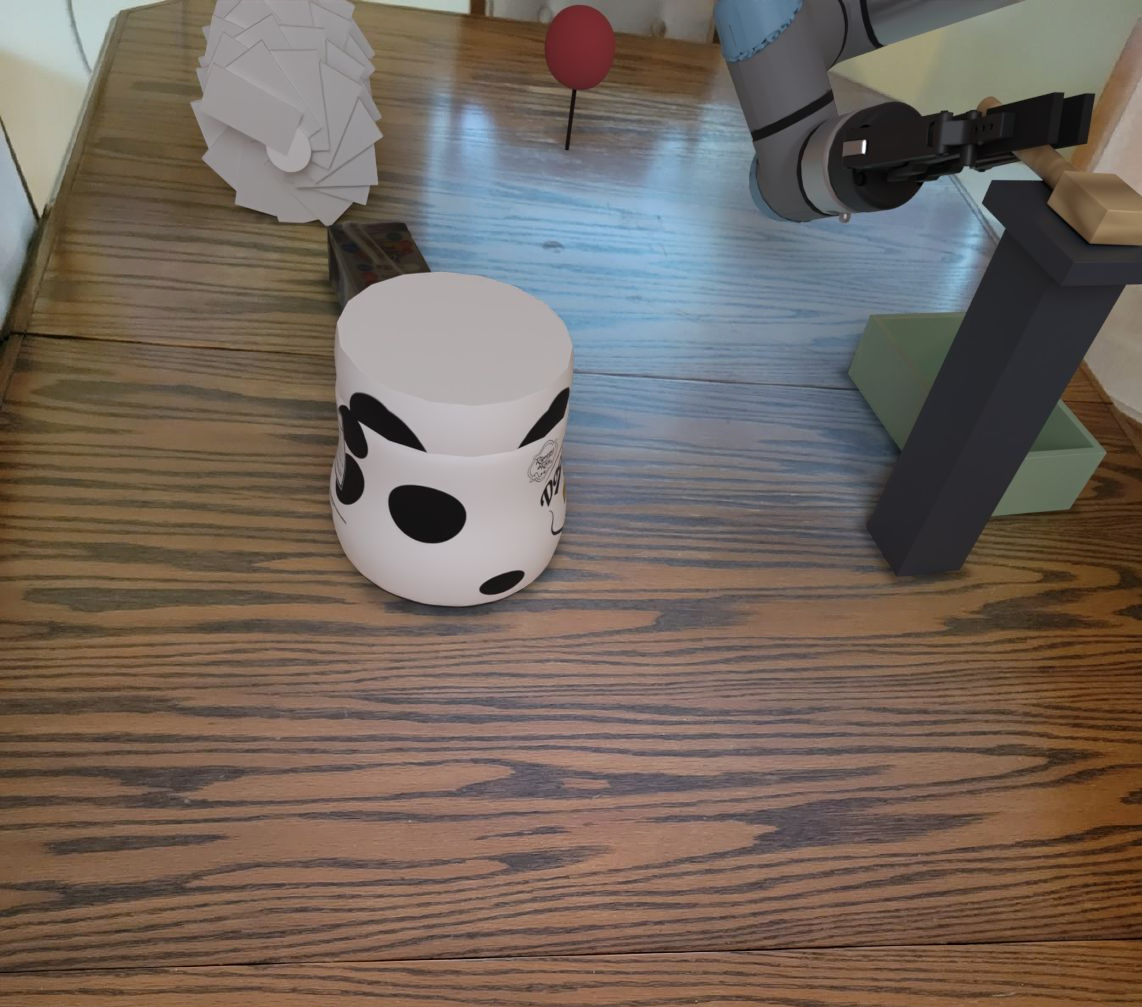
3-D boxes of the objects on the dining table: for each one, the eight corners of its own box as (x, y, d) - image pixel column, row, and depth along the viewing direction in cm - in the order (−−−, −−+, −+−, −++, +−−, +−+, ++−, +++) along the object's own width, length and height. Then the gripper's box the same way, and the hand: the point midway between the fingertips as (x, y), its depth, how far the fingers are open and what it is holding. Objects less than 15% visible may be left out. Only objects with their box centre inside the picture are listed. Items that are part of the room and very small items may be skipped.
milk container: (603, 562, 81) (645, 356, 67) (435, 665, 72) (443, 454, 58) (457, 449, 87) (467, 237, 73) (286, 532, 78) (259, 311, 64)
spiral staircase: (335, 174, 120) (344, 278, 105) (181, 91, 111) (166, 192, 96) (401, 12, 109) (422, 102, 94) (236, -94, 100) (229, -13, 85)
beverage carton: (407, 278, 102) (408, 211, 96) (464, 394, 92) (468, 326, 86) (327, 284, 99) (323, 215, 94) (376, 403, 89) (375, 334, 84)
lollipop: (576, 177, 119) (595, 27, 107) (522, 153, 121) (535, 3, 109) (610, 157, 123) (632, 11, 111) (558, 134, 125) (574, -12, 113)
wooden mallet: (1142, 246, 63) (1162, 212, 61) (1089, 243, 61) (1108, 209, 60) (1004, 123, 72) (1018, 91, 70) (956, 119, 71) (969, 87, 69)
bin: (845, 378, 101) (870, 314, 96) (955, 373, 104) (985, 310, 99) (945, 525, 89) (980, 461, 84) (1066, 514, 93) (1107, 452, 87)
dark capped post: (978, 592, 85) (1183, 260, 62) (893, 601, 83) (1073, 262, 60) (924, 511, 90) (1094, 180, 68) (843, 518, 88) (991, 179, 66)
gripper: (938, 212, 88) (1153, 187, 67) (783, 213, 84) (961, 186, 64) (950, 110, 85) (1179, 50, 64) (790, 105, 81) (979, 41, 61)
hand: (1070, 118), depth 64 cm, fingers closed on wooden mallet, 2 cm apart
